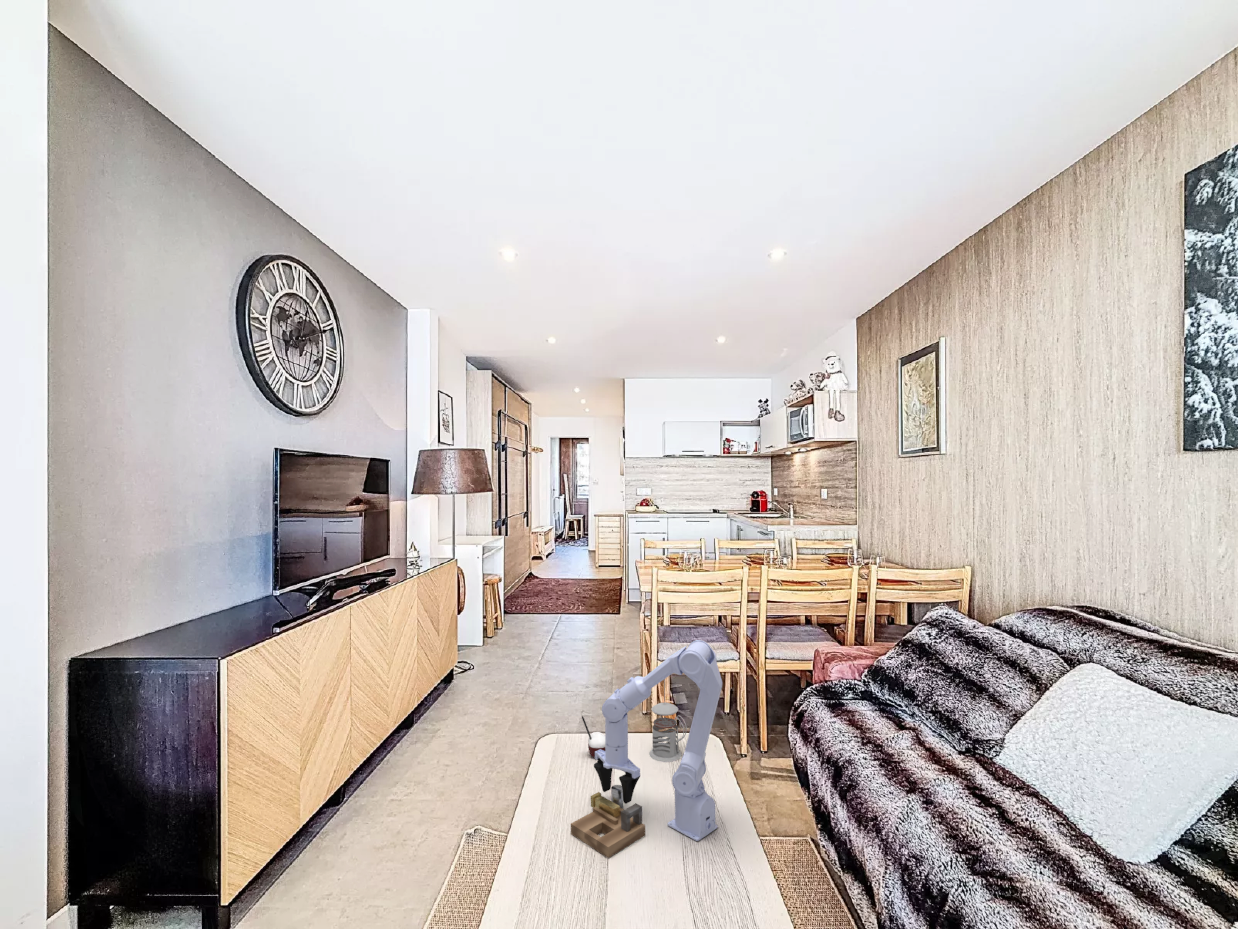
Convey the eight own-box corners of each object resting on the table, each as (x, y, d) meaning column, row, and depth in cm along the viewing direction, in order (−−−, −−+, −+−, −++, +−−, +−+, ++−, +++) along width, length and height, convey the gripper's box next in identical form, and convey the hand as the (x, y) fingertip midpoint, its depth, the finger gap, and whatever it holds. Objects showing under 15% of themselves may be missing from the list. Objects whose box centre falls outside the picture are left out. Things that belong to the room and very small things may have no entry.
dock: (645, 835, 148) (644, 808, 148) (608, 858, 140) (608, 829, 140) (607, 813, 157) (607, 788, 157) (570, 834, 149) (570, 806, 149)
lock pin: (620, 814, 152) (620, 804, 152) (613, 819, 150) (612, 808, 150) (598, 802, 158) (598, 792, 158) (590, 806, 156) (590, 795, 156)
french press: (658, 744, 196) (657, 664, 196) (692, 752, 190) (691, 670, 190) (643, 757, 187) (642, 673, 187) (678, 766, 181) (677, 680, 181)
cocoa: (613, 752, 191) (615, 713, 191) (610, 762, 185) (612, 720, 185) (583, 750, 192) (584, 710, 193) (579, 758, 186) (580, 718, 186)
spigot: (625, 811, 158) (625, 787, 158) (617, 816, 156) (617, 792, 156) (617, 806, 160) (617, 783, 160) (609, 811, 158) (608, 787, 158)
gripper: (585, 738, 161) (586, 791, 161) (625, 757, 150) (626, 813, 150) (605, 730, 166) (606, 781, 166) (645, 747, 155) (646, 802, 155)
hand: (616, 796), depth 158 cm, fingers open, 7 cm apart
